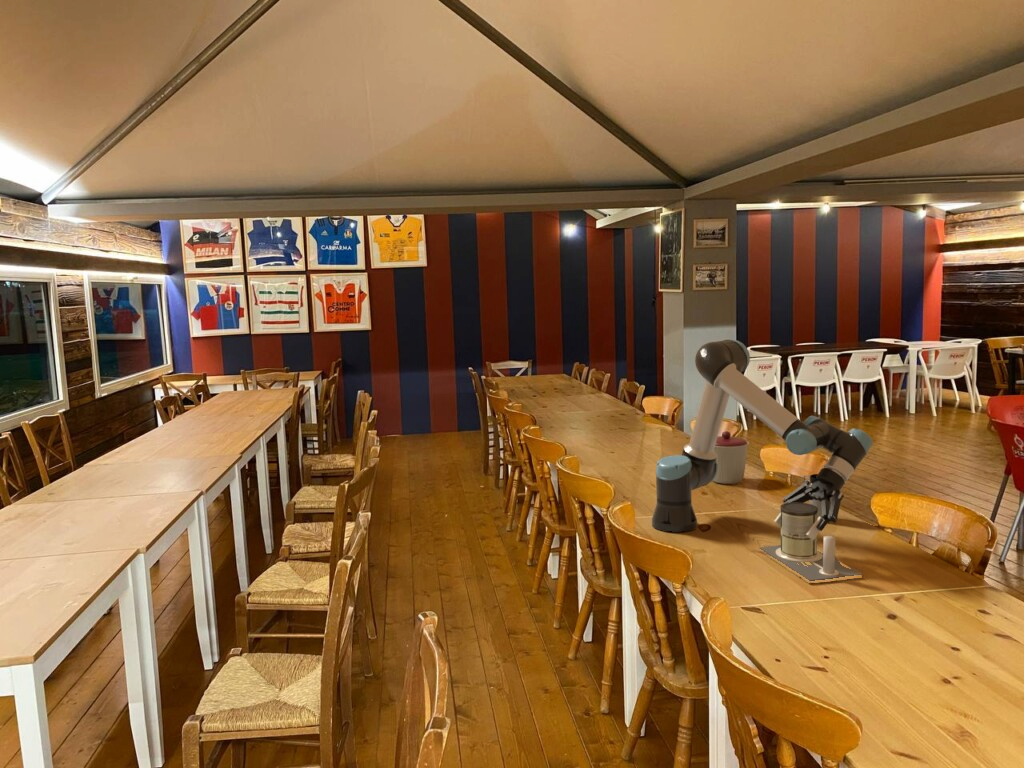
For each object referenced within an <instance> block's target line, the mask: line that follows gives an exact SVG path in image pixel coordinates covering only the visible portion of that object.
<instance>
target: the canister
mask: <svg viewBox="0 0 1024 768" xmlns="http://www.w3.org/2000/svg"><path fill="white" fill-rule="evenodd" d="M748 446H750V442H749V441H747V440H746V439H744V438H742V437H739V436H732V435H731V432H730V431H723V432H721V435H718V437H717V441H716V444H715V448H714V451H715V453H716V455H717V457H716V463H717V464H718V472H717V475H716V477H715V478H714V480H713V481H712V482H714V483H717V484H718V483H719V484H725V485H733V484H738V483H741V482H742V481H743V479H744V477H745V471H746V465H747V464H746V463H747V462H746V461H747V454H748Z"/></svg>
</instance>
